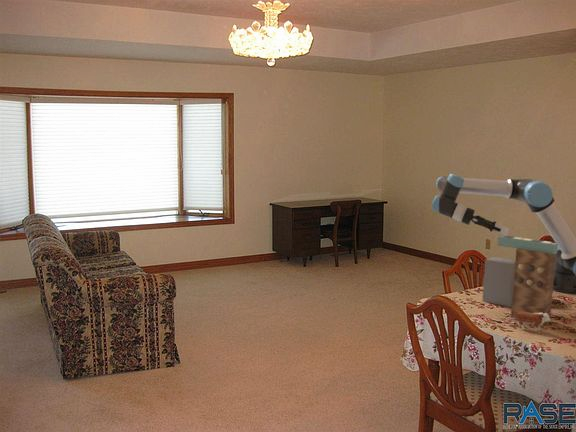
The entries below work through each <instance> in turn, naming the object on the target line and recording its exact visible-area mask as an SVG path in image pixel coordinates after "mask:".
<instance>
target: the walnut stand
mask: <svg viewBox="0 0 576 432" xmlns="http://www.w3.org/2000/svg"><path fill="white" fill-rule="evenodd" d="M515 250H516V251H515V260H514V261H515V273H514V286H513V298H512V306H511V315H510V318H512V319H516V312H517V311H522V312H529V313H547V314H548V315H549V318H550V319H551V314H552V302H553V291H554V290H553V281H554V270H555V258H556V254H548V253H542V252H536V251H529V250H523V249H516V248H515ZM517 319H518V317H517ZM517 319H516V320H517ZM549 322H550V321H547V322H544V323H543V324H542V325H543V326H544V325H546V324H547V323H549ZM542 325H541V326H542Z"/></svg>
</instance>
